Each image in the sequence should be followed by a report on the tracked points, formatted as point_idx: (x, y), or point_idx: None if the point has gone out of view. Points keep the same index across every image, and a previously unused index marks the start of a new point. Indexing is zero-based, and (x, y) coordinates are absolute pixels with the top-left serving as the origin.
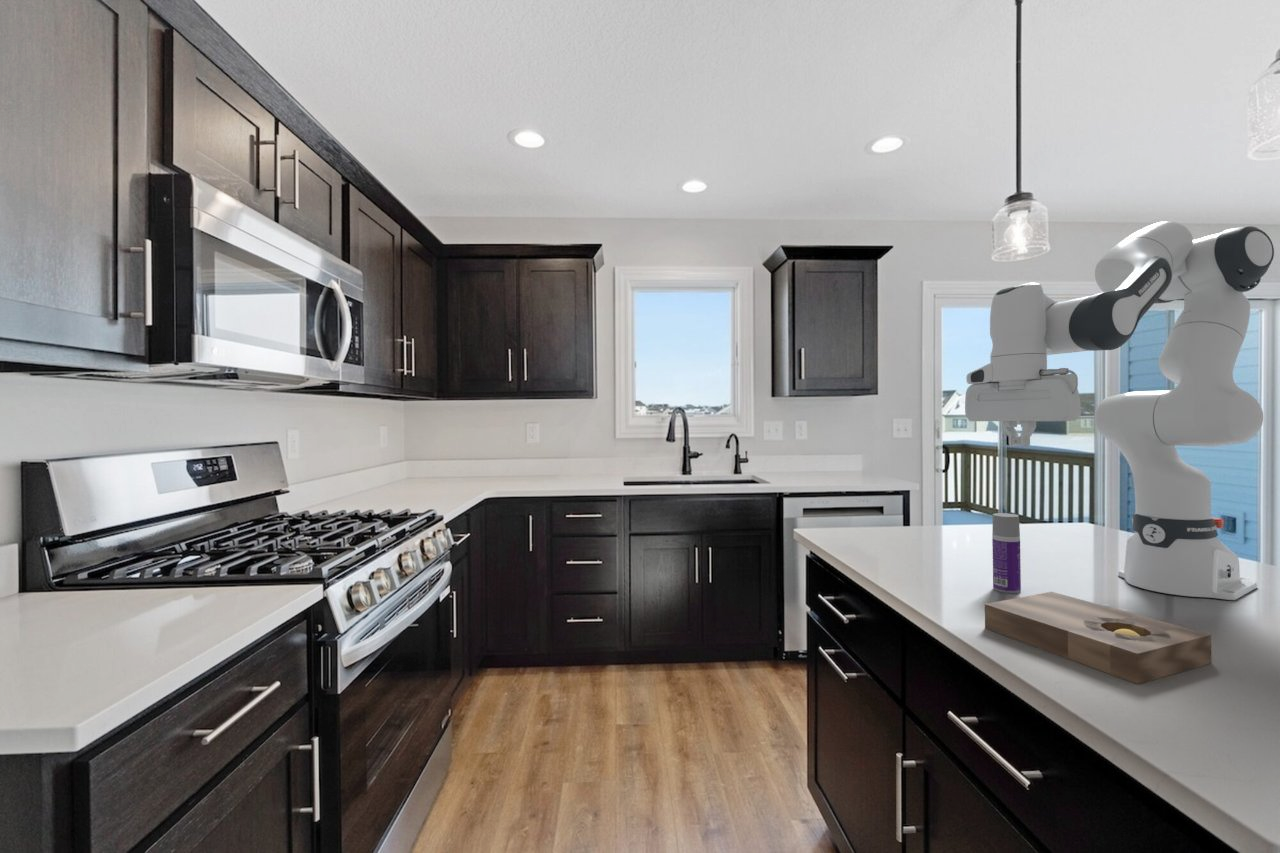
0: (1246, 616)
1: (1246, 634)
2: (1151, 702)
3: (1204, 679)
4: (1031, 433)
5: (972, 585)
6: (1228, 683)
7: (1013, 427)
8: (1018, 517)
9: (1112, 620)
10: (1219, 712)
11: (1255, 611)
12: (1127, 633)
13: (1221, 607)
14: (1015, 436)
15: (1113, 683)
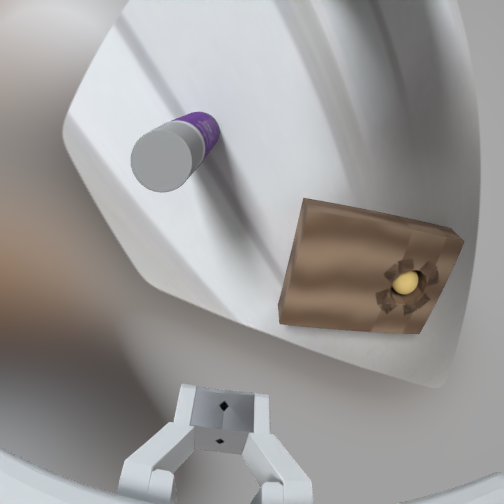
0: (446, 17)
1: (463, 99)
2: (417, 335)
3: None
4: (284, 453)
5: None
6: (457, 264)
7: (156, 469)
8: (192, 153)
9: (396, 271)
10: (447, 316)
11: None
12: (410, 292)
13: None
14: (200, 440)
15: None
